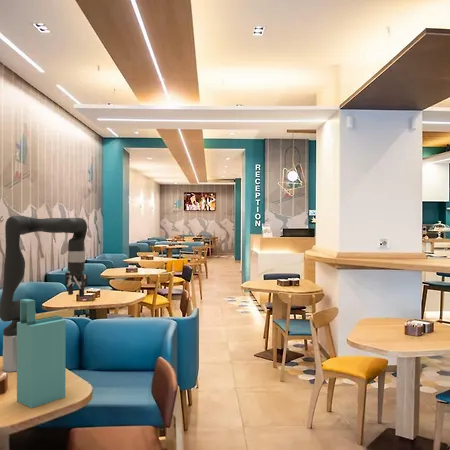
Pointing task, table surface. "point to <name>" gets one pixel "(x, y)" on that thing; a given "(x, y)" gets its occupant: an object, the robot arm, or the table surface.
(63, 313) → the wooden bar
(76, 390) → the table surface
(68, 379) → the table surface
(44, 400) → the teal brick phone
